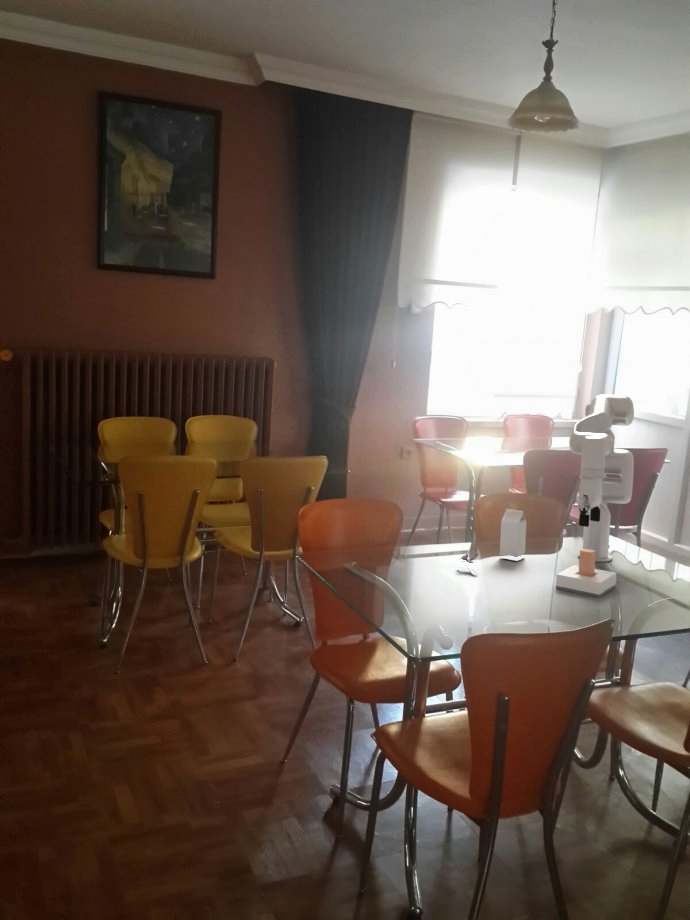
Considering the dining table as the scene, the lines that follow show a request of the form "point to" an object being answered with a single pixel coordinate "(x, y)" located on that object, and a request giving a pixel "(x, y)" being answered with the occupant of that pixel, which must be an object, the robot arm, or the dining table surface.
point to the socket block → (586, 581)
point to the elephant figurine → (469, 559)
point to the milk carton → (513, 533)
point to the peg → (587, 562)
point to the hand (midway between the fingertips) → (589, 523)
